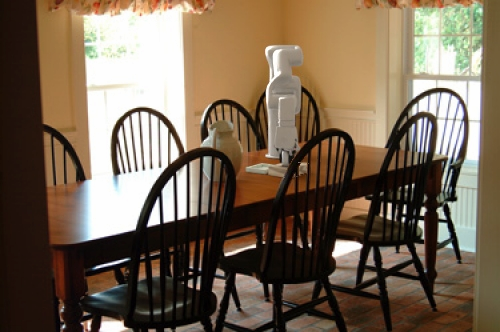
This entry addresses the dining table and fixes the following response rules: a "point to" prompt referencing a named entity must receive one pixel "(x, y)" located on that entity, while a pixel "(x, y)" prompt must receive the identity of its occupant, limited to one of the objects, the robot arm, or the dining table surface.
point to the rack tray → (259, 168)
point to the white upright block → (285, 158)
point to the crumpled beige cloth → (280, 171)
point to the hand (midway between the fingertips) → (286, 162)
